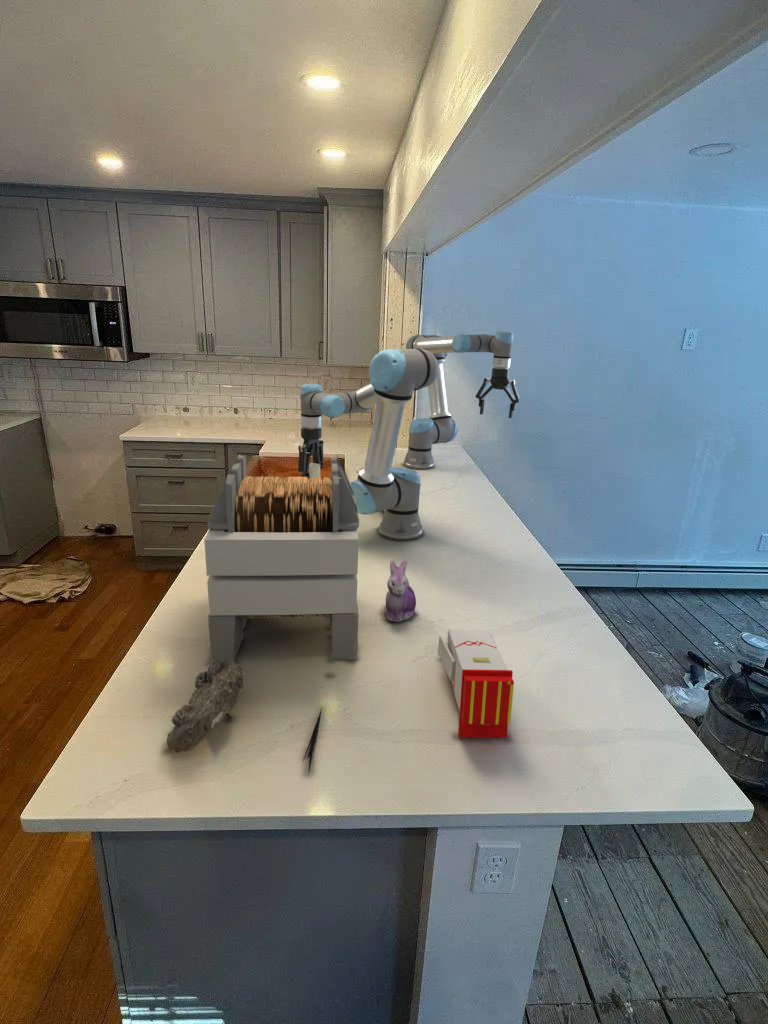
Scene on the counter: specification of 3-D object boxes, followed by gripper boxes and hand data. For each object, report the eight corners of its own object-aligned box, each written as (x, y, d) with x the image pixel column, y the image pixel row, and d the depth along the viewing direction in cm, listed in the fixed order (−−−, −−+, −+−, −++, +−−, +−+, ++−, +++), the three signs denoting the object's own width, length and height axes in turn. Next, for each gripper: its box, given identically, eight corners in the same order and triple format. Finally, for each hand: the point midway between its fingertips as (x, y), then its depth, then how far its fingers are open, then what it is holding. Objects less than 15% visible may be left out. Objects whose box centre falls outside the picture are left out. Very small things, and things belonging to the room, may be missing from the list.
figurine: (392, 627, 141) (395, 572, 136) (374, 608, 149) (376, 556, 144) (425, 619, 145) (429, 566, 140) (405, 601, 154) (408, 550, 149)
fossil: (192, 660, 117) (244, 628, 112) (224, 691, 120) (276, 661, 115) (142, 746, 98) (202, 712, 93) (182, 779, 101) (242, 748, 96)
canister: (302, 494, 219) (302, 462, 215) (319, 494, 220) (319, 462, 216) (302, 499, 213) (302, 467, 209) (320, 499, 214) (320, 467, 210)
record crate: (230, 591, 155) (223, 445, 141) (350, 589, 159) (354, 447, 145) (208, 664, 123) (195, 486, 109) (358, 660, 127) (363, 487, 113)
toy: (488, 613, 130) (523, 677, 101) (484, 667, 133) (517, 744, 104) (435, 612, 130) (455, 676, 101) (432, 666, 133) (451, 743, 103)
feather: (331, 679, 122) (336, 673, 122) (307, 777, 96) (313, 769, 95) (324, 675, 122) (329, 669, 121) (298, 772, 95) (304, 764, 95)
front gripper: (316, 422, 218) (316, 479, 225) (287, 430, 201) (288, 492, 209) (333, 424, 215) (333, 482, 222) (305, 433, 198) (305, 495, 206)
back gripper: (471, 366, 253) (466, 413, 260) (526, 371, 242) (520, 420, 249) (477, 365, 259) (472, 411, 266) (531, 369, 248) (525, 418, 255)
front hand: (311, 487), depth 215 cm, fingers closed on canister, 7 cm apart
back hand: (495, 416), depth 258 cm, fingers open, 13 cm apart
